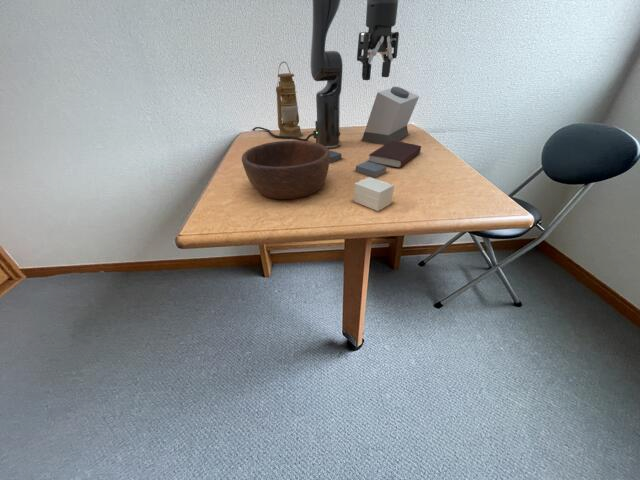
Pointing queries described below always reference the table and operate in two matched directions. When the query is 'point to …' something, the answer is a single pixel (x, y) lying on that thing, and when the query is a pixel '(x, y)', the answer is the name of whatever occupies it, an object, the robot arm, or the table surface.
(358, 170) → the blue-grey flat blocks
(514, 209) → the table surface
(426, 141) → the table surface
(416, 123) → the table surface
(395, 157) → the book
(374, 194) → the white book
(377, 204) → the white rectangular block
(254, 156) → the wooden bowl
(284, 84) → the lantern
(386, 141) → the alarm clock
